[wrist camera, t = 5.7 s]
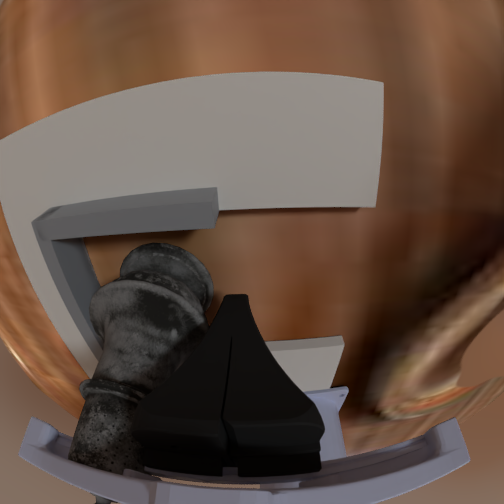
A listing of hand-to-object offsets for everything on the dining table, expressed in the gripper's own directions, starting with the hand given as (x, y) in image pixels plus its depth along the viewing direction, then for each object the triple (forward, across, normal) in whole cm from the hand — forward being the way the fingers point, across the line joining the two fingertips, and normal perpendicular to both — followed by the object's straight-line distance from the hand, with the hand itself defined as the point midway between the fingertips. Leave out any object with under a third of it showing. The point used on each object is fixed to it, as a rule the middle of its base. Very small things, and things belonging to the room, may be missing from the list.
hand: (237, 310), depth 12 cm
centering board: (+2, +4, 0) cm, 4 cm away
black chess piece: (+2, +4, 0) cm, 4 cm away
